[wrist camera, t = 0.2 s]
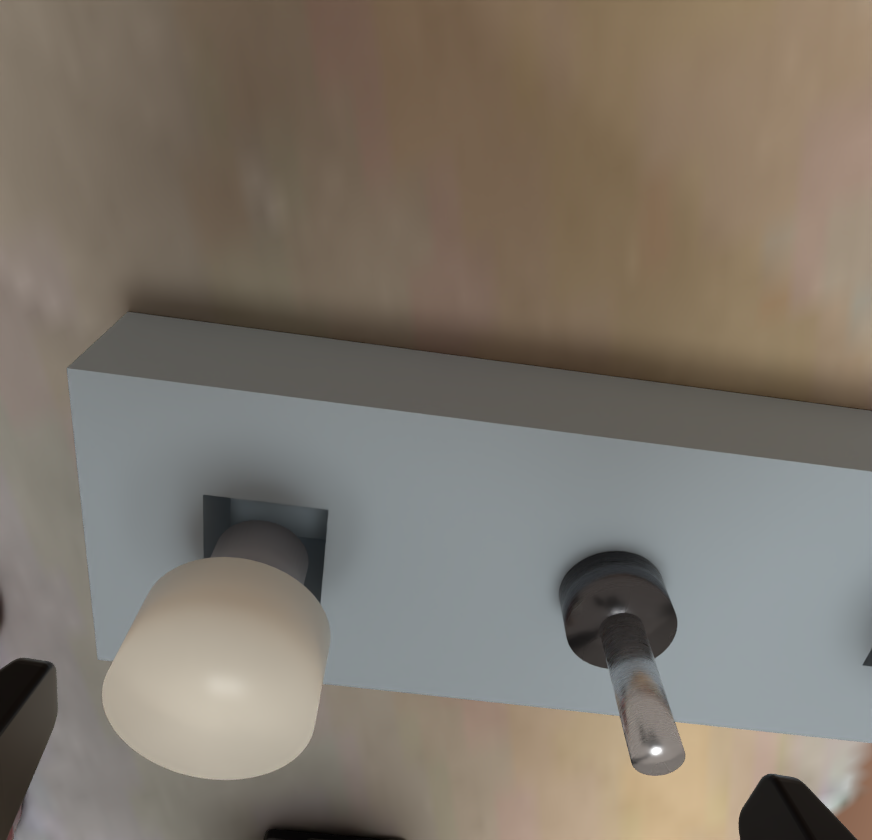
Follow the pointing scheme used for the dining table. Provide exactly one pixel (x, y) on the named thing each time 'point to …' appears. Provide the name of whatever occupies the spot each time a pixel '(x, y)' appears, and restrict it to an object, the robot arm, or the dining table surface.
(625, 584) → the pot stem
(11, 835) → the canister
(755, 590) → the mount
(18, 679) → the robot arm
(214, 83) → the dining table surface
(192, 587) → the knob
